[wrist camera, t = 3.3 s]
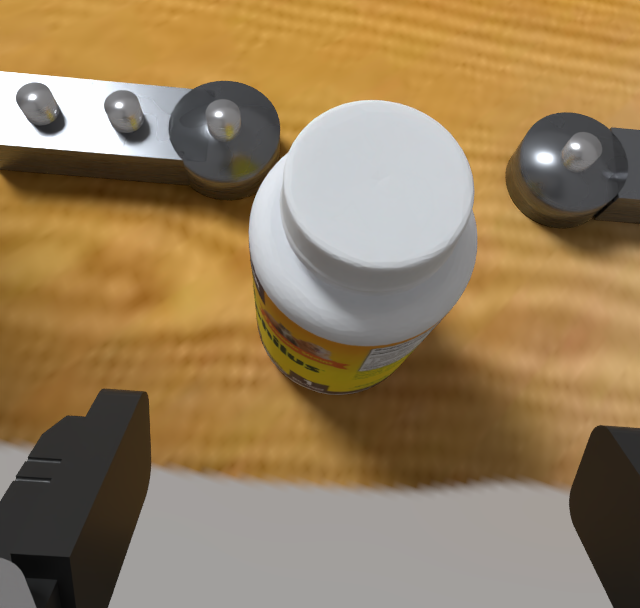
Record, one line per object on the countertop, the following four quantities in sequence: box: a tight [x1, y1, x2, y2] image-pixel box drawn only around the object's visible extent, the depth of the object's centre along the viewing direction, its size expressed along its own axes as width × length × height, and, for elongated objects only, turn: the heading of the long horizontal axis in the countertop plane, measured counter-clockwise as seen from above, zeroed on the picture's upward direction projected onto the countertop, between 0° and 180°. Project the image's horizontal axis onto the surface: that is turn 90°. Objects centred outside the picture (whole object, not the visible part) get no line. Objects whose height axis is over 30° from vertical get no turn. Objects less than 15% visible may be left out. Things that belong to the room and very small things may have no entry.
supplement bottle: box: [249, 100, 477, 395], centre depth 17 cm, size 6×6×10 cm
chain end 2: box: [506, 113, 640, 228], centre depth 23 cm, size 8×4×3 cm, turn 87°
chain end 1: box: [0, 71, 280, 200], centre depth 23 cm, size 10×4×3 cm, turn 87°
